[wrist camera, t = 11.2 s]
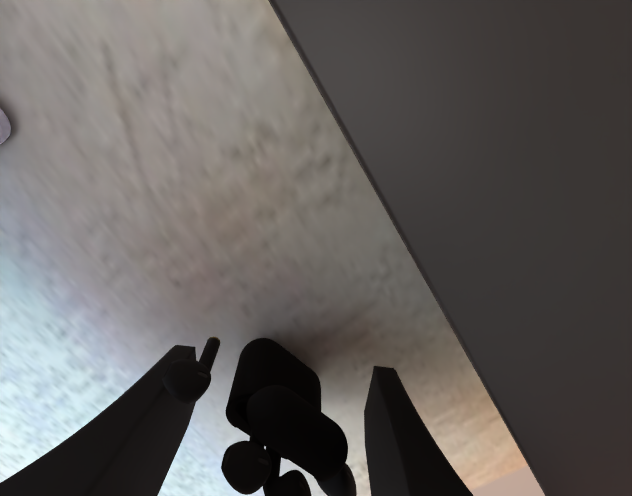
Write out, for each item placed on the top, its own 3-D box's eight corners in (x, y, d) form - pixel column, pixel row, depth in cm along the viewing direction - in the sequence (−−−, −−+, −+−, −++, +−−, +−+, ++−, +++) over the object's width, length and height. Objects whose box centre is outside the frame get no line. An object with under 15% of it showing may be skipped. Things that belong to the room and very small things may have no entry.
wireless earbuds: (189, 313, 13) (118, 451, 8) (238, 266, 12) (190, 388, 7) (335, 421, 15) (343, 578, 10) (384, 386, 14) (417, 539, 10)
